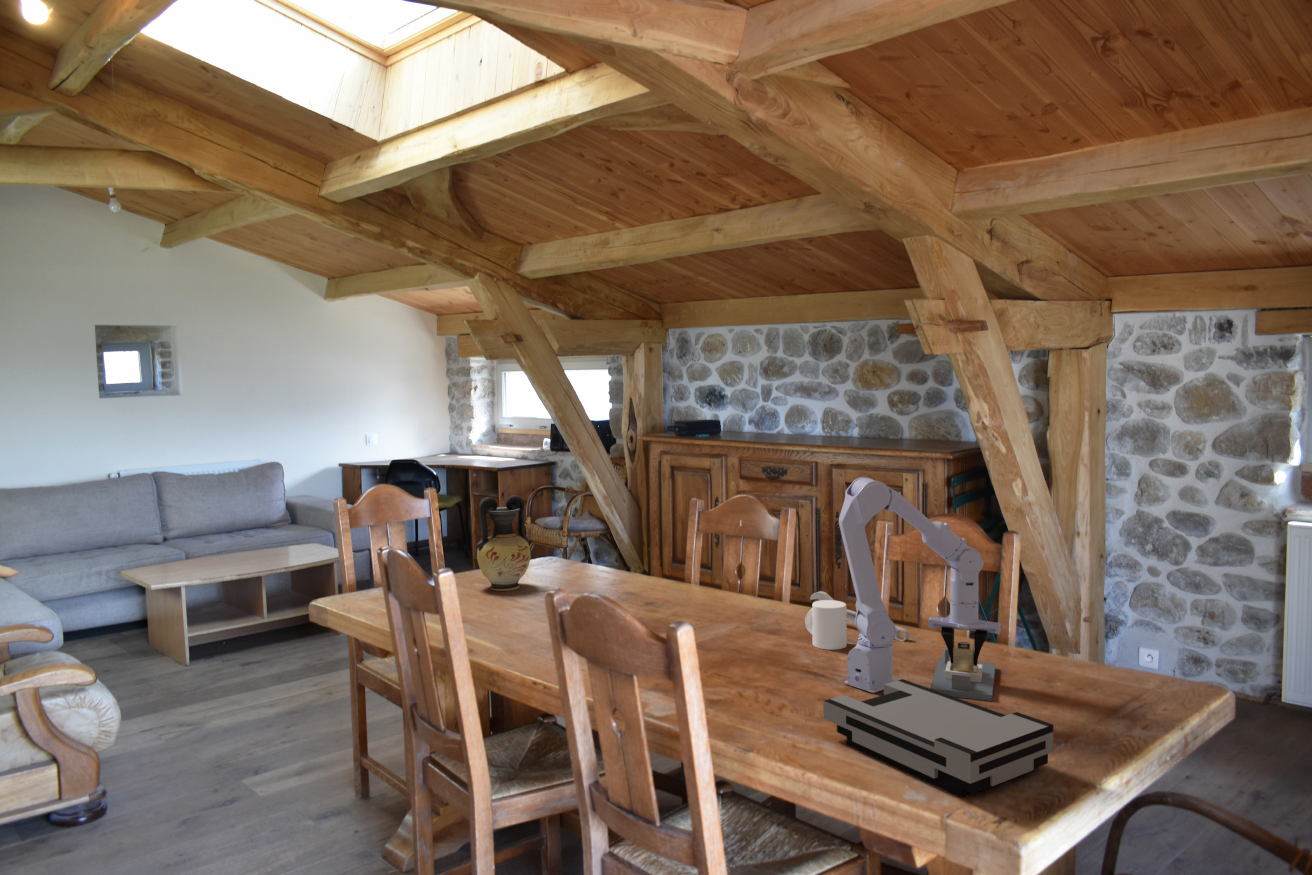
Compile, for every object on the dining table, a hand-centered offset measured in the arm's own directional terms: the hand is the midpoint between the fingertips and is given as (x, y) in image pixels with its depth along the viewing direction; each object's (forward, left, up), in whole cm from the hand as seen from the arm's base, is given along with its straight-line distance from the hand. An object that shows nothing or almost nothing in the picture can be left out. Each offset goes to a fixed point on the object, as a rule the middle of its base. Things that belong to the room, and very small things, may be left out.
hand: (963, 663), depth 189 cm
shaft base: (0, 0, -4) cm, 4 cm away
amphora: (-34, +146, -4) cm, 150 cm away
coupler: (0, 0, -2) cm, 2 cm away
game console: (-37, -18, -4) cm, 42 cm away
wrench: (+14, +41, -4) cm, 43 cm away
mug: (-2, +38, -4) cm, 38 cm away
